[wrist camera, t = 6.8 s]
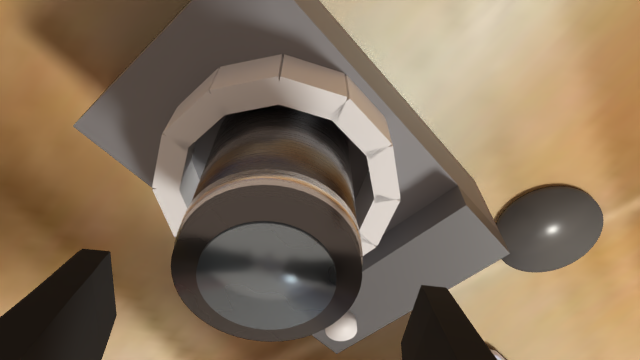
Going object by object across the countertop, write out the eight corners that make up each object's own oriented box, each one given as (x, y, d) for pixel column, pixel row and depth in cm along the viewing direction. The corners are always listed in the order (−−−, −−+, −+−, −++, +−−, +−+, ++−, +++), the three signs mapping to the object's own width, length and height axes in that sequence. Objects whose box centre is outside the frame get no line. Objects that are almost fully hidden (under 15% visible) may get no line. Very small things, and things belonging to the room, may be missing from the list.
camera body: (474, 181, 22) (515, 265, 17) (333, 273, 24) (337, 366, 20) (258, -71, 16) (236, -44, 12) (110, 84, 19) (48, 153, 15)
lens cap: (614, 228, 24) (621, 236, 23) (522, 278, 25) (527, 287, 25) (567, 162, 22) (573, 169, 21) (471, 221, 23) (474, 229, 23)
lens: (368, 109, 16) (393, 226, 11) (328, 220, 18) (332, 361, 13) (228, 72, 15) (181, 177, 10) (204, 191, 18) (156, 328, 12)
